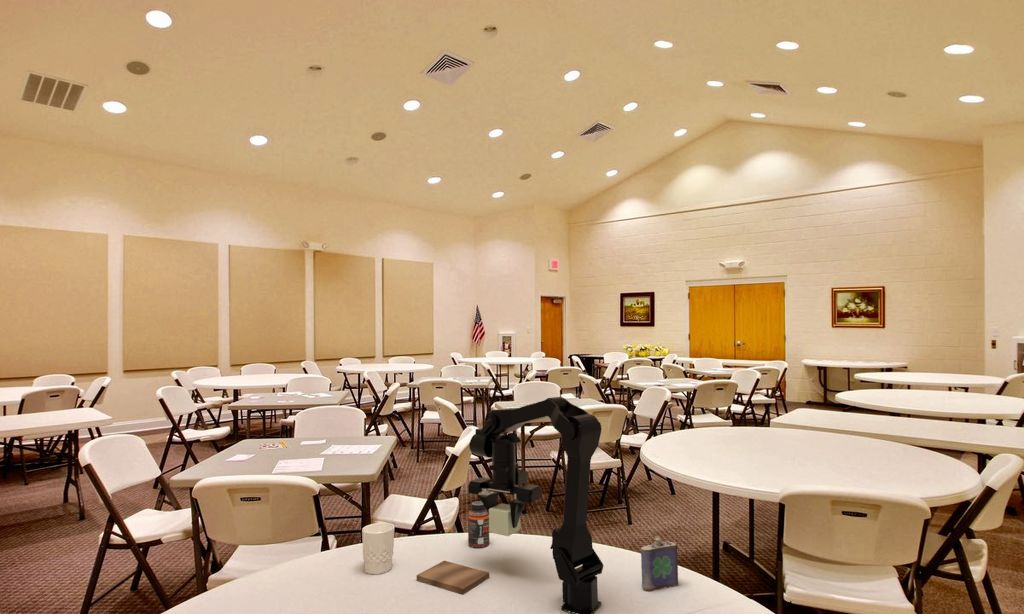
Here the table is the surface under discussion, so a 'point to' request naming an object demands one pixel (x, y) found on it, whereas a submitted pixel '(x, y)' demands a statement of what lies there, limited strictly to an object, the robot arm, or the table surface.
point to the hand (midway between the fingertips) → (504, 525)
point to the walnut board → (453, 577)
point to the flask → (659, 565)
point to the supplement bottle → (478, 525)
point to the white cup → (378, 547)
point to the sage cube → (501, 520)
